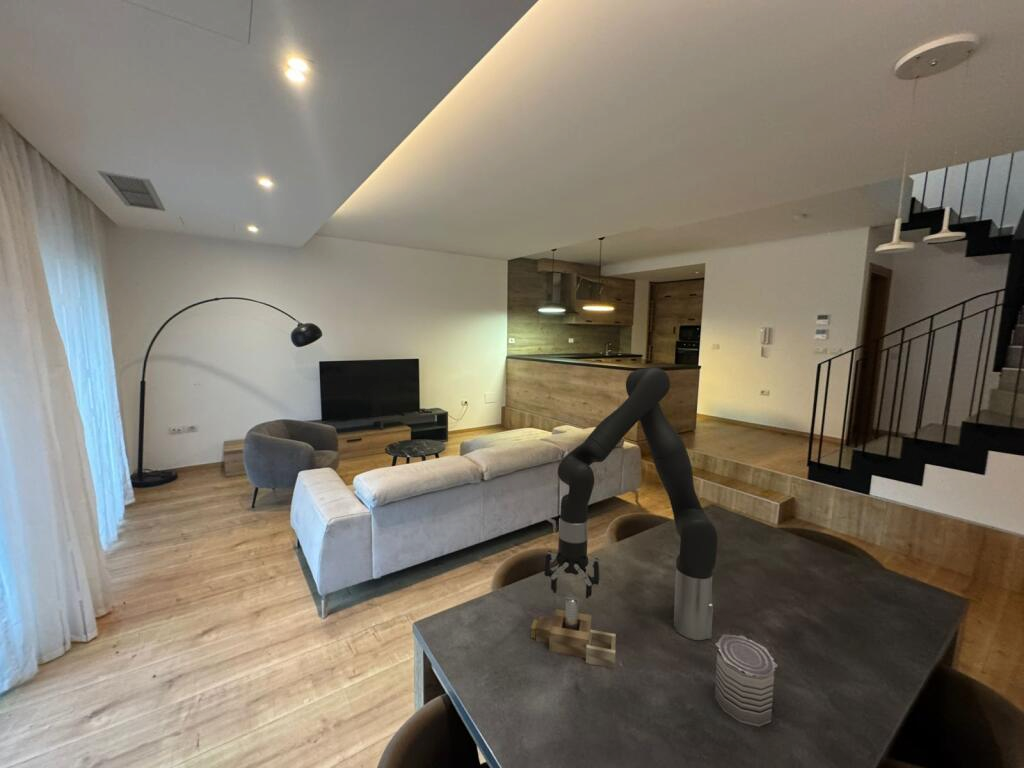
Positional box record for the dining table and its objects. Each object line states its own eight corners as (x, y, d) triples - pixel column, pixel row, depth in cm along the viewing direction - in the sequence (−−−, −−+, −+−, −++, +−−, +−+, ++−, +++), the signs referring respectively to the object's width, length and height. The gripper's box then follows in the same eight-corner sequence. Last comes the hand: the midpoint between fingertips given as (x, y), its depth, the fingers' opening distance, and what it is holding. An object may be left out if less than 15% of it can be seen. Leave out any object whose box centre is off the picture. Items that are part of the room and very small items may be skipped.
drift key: (562, 634, 111) (563, 624, 111) (561, 643, 107) (561, 633, 107) (533, 628, 113) (533, 619, 113) (530, 637, 109) (530, 627, 109)
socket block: (591, 632, 112) (591, 615, 112) (588, 658, 102) (588, 640, 102) (541, 623, 116) (541, 606, 115) (533, 647, 106) (534, 629, 106)
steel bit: (577, 638, 110) (578, 595, 109) (576, 646, 107) (577, 602, 106) (565, 636, 110) (566, 594, 110) (564, 644, 107) (565, 600, 106)
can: (751, 682, 96) (754, 633, 95) (786, 726, 84) (789, 672, 83) (704, 683, 95) (706, 634, 94) (732, 727, 84) (735, 672, 83)
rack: (615, 648, 106) (615, 634, 106) (614, 668, 99) (615, 653, 99) (588, 643, 108) (588, 629, 108) (585, 662, 101) (586, 647, 101)
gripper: (601, 532, 108) (599, 590, 110) (548, 525, 112) (547, 581, 113) (600, 545, 101) (597, 607, 102) (543, 537, 105) (541, 597, 106)
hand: (570, 594), depth 108 cm, fingers open, 8 cm apart
